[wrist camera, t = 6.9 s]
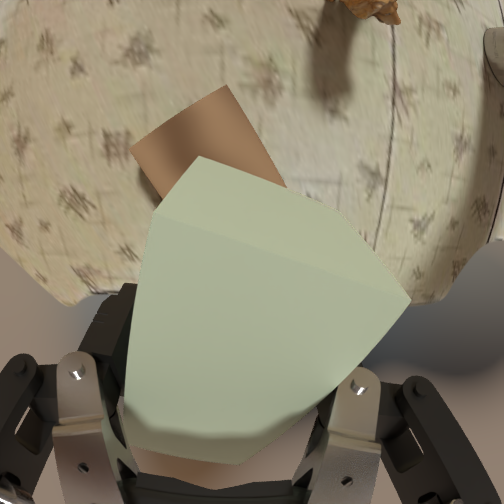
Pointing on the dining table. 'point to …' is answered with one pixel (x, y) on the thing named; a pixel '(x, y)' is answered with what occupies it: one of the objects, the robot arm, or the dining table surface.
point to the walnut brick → (204, 143)
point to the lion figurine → (374, 10)
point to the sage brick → (246, 314)
